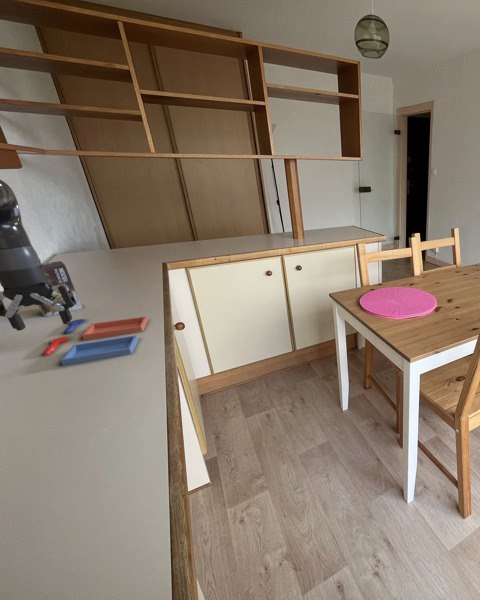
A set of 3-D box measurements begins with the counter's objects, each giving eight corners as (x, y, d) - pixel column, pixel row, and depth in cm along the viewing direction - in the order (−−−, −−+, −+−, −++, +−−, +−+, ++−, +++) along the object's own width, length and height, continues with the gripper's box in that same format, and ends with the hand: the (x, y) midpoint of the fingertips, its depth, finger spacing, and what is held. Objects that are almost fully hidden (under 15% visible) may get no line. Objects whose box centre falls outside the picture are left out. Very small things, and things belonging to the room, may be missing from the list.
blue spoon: (75, 334, 91) (73, 329, 91) (59, 336, 90) (57, 332, 89) (87, 321, 99) (85, 317, 99) (72, 322, 98) (71, 318, 97)
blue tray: (63, 367, 76) (60, 360, 75) (76, 351, 83) (73, 344, 82) (132, 355, 82) (129, 348, 81) (138, 341, 88) (136, 335, 88)
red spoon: (56, 355, 80) (54, 350, 80) (37, 358, 79) (35, 353, 78) (71, 338, 88) (69, 334, 88) (54, 341, 87) (52, 336, 86)
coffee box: (78, 304, 110) (61, 260, 104) (83, 309, 107) (66, 263, 101) (40, 312, 103) (20, 265, 97) (44, 318, 100) (24, 269, 94)
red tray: (84, 341, 87) (81, 335, 87) (93, 329, 94) (91, 323, 93) (142, 332, 93) (141, 326, 92) (148, 321, 100) (146, 316, 99)
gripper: (-38, 273, 68) (-4, 338, 74) (51, 265, 74) (76, 326, 80) (-17, 264, 74) (14, 325, 80) (64, 258, 81) (87, 315, 87)
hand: (45, 326), depth 80 cm, fingers open, 8 cm apart
